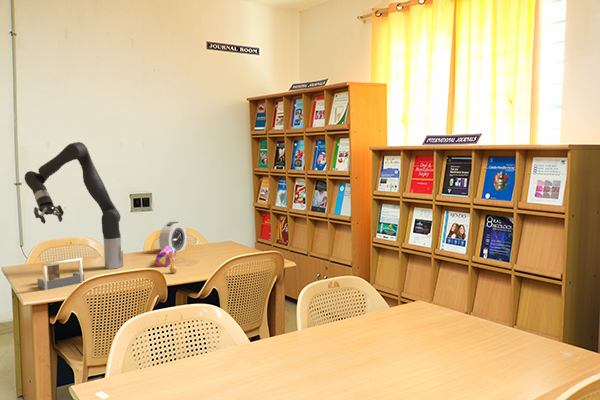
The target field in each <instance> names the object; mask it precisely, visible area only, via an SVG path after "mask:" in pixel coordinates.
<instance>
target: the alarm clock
mask: <svg viewBox="0 0 600 400" xmlns="http://www.w3.org/2000/svg"><path fill="white" fill-rule="evenodd" d="M187 241H188V235H187V229H186V227H185V226H184V225H183V224H182V223H179V222H178V221H170V222H168V223H165V224H164V225H163V226H162V228H161V230H160V233H159V239H158V242H159V247H160V250H161V251H162V250H163V248H164V247H166V246H171V247H173V248H175V249H176V253H178V252H181V251H184V250H185V248H186V246H187Z"/></svg>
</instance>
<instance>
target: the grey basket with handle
mask: <svg viewBox="0 0 600 400" xmlns="http://www.w3.org/2000/svg"><path fill="white" fill-rule="evenodd" d="M76 262H78V272H77V271H73V272H72V275H71V276H67V277H60V279H54V280H49V279H48V266H53V265H59V266H60V265H64V264H70V263H76ZM41 267H42V277H43V278H40V277H39V278H37V287H38V288H40V289H42V291H47V290H51V289H57V288H62V287H66V286H72V285H77V284H78V285H79V284H82V283H81V282H82V281H84V282H85V274H83V273H84V272H83V257H77V258H70V259H65V260H58V261H51V262H46V263H41Z"/></svg>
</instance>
